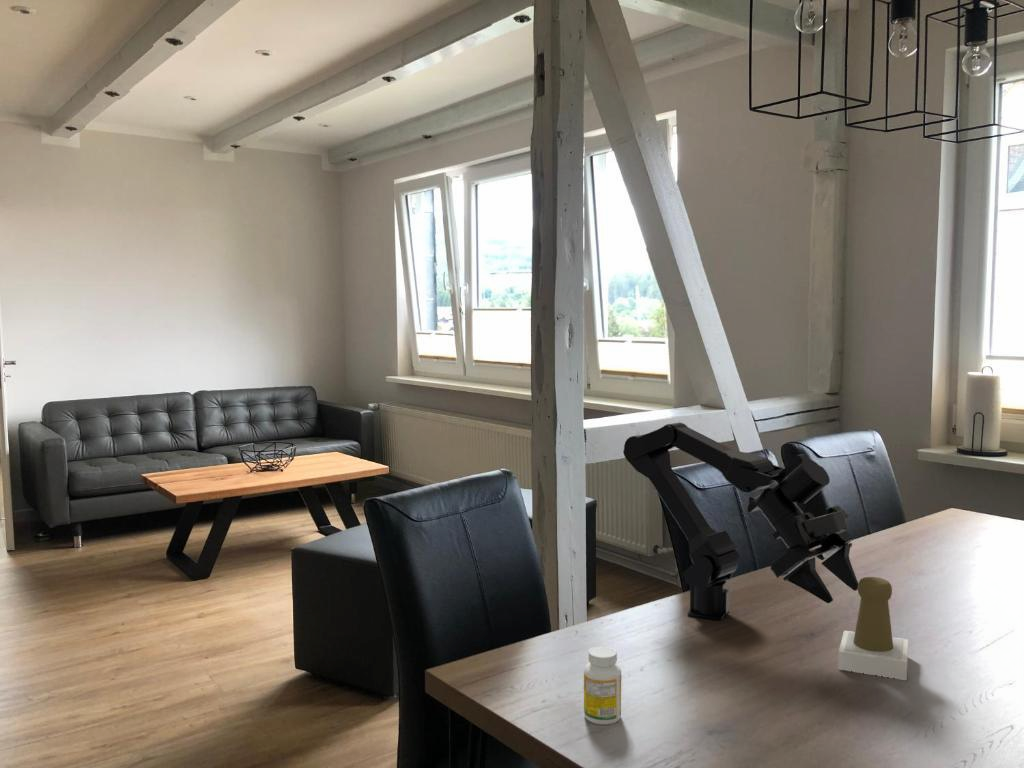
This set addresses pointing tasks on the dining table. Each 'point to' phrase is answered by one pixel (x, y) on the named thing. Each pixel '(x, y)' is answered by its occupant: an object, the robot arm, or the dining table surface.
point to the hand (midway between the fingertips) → (844, 595)
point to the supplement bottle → (602, 687)
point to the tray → (874, 658)
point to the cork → (874, 615)
